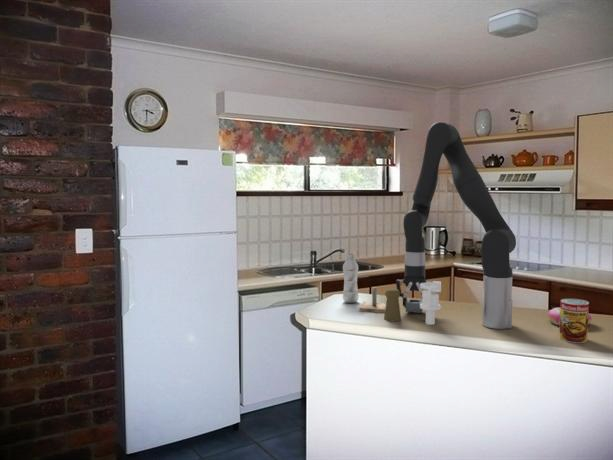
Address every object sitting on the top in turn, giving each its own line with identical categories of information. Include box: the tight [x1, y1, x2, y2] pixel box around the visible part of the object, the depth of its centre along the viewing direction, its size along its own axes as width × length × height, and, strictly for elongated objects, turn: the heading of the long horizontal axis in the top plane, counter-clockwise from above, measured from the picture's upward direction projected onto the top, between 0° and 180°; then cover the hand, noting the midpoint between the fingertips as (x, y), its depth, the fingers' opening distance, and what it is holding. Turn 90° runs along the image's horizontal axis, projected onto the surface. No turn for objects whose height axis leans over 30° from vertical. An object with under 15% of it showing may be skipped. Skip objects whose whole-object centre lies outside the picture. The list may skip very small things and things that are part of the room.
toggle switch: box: [358, 287, 386, 314], centre depth 206 cm, size 10×10×8 cm
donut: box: [547, 306, 592, 327], centre depth 183 cm, size 14×13×5 cm
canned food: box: [558, 298, 590, 344], centre depth 165 cm, size 8×8×12 cm
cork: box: [383, 287, 402, 322], centre depth 191 cm, size 6×6×11 cm
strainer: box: [420, 280, 442, 326], centre depth 184 cm, size 7×7×15 cm
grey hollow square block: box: [405, 298, 424, 314], centre depth 199 cm, size 6×6×4 cm
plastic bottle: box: [342, 253, 360, 304], centre depth 216 cm, size 6×7×20 cm
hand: (414, 307), depth 199 cm, fingers closed on grey hollow square block, 6 cm apart
